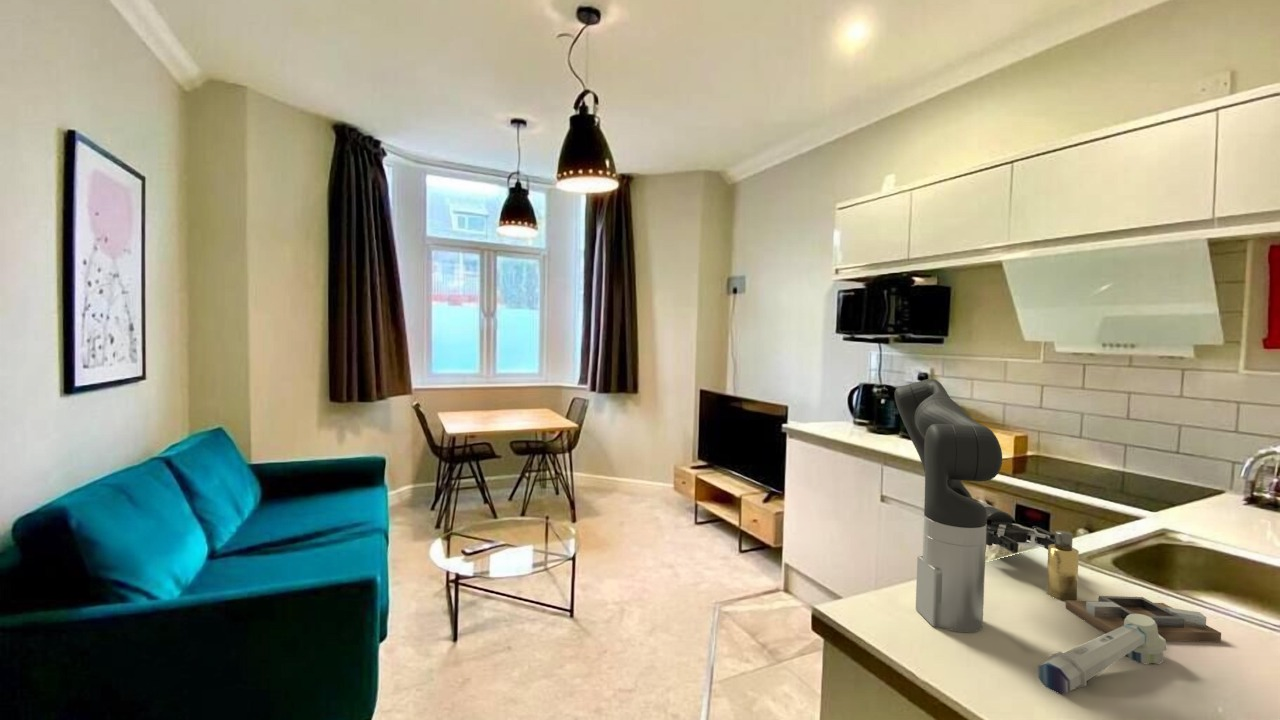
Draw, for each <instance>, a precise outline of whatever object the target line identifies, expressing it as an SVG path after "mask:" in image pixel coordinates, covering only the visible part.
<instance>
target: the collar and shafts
mask: <svg viewBox="0 0 1280 720" xmlns="http://www.w3.org/2000/svg"><path fill="white" fill-rule="evenodd" d="M1085 601H1086V612H1087V613H1089V614H1090V615H1092V616H1094V617H1116V618H1122V619H1125V618H1126V616H1128V615H1130V614H1134V613H1132V612H1131V611H1129V610H1127V609H1125V608H1124V607H1141V608H1143V609H1145V610H1147V611H1149V612H1151V613H1153V614H1154V615H1156V616H1148V617H1151V618H1152V619H1153V620H1154V621H1155V622H1156V624H1157V627H1166V628H1184V625H1189V626H1195V627H1201V628H1206V625H1207V616H1206V615H1204V614H1203V613H1202V612H1199V611H1194V610H1188V609H1180V608H1174V607H1172V608H1168V607H1166V609H1164V608H1163V607H1161V606H1159V605H1157V604H1155V603H1156V602H1153V601H1151V600H1149V599H1148V598H1145V597H1143V596H1122V595H1121V596H1120V595H1119V596H1115V595H1114V596H1113V595H1111V596H1110V595H1098V599H1097V601H1098V602H1094V601H1095V600H1085Z"/></svg>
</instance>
